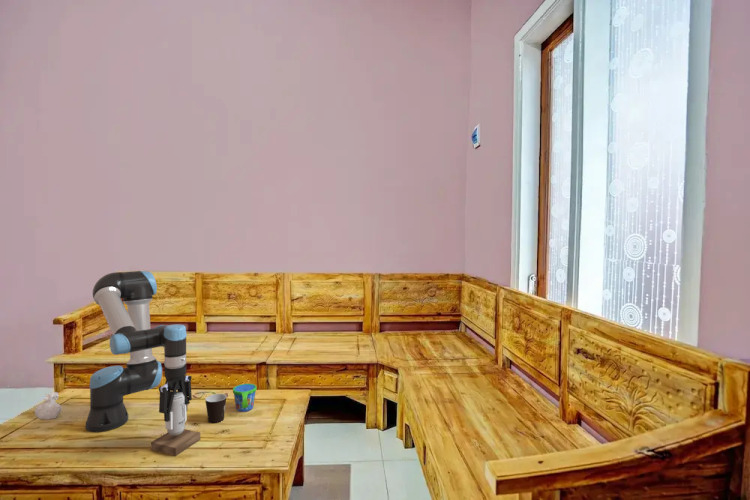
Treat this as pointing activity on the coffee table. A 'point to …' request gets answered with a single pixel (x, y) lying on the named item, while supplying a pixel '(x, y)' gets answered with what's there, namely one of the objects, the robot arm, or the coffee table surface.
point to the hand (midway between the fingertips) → (176, 424)
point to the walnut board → (175, 442)
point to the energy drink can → (178, 414)
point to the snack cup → (244, 396)
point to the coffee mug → (215, 407)
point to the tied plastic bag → (48, 407)
